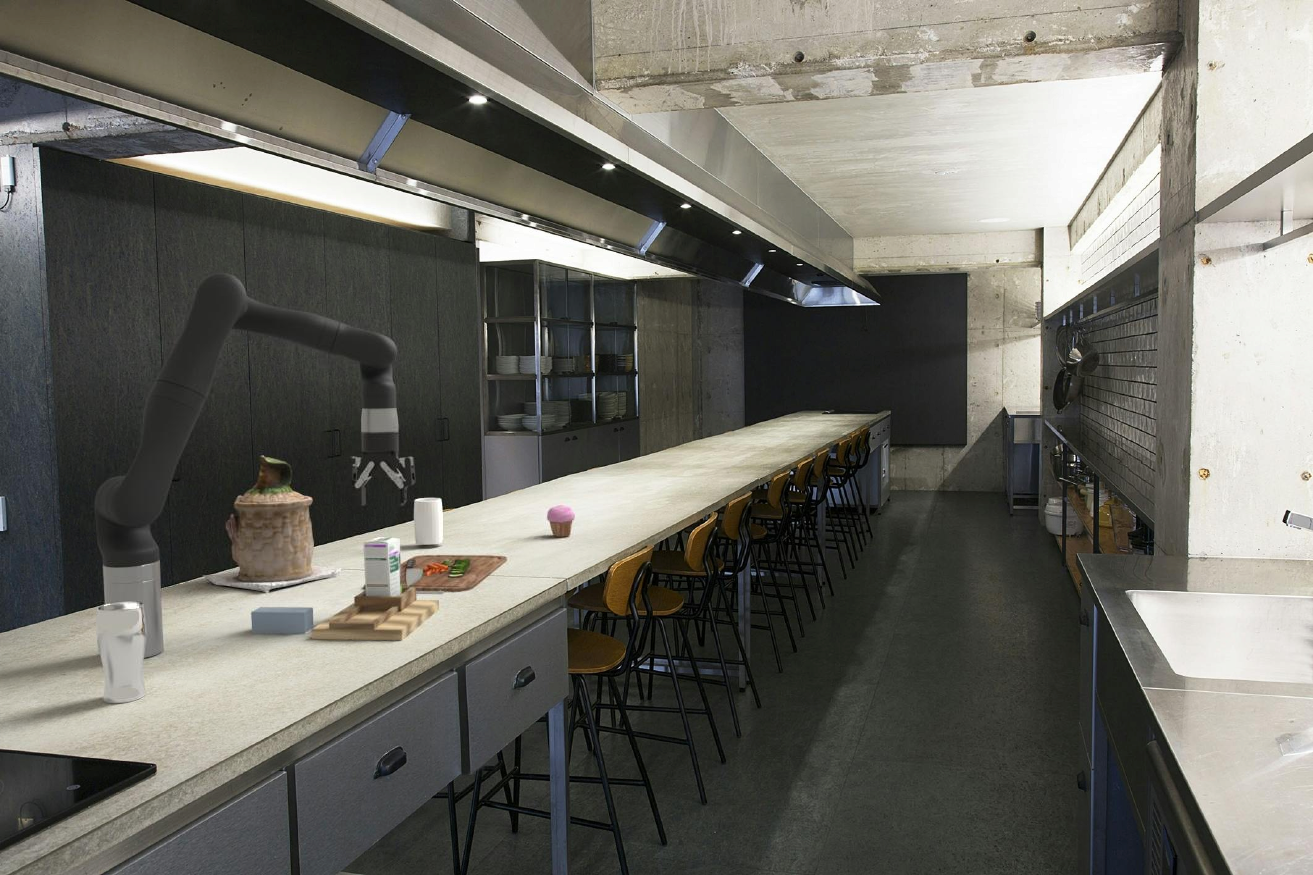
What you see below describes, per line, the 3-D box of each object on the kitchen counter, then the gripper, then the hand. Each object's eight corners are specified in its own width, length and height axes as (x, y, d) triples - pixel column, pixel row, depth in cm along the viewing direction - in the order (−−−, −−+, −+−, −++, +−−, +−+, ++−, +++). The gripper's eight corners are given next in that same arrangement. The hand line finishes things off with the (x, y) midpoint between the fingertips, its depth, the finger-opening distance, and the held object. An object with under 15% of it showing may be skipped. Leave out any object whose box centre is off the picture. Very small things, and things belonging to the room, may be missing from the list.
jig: (401, 640, 184) (401, 614, 184) (312, 639, 185) (311, 613, 185) (439, 609, 208) (438, 586, 208) (359, 608, 209) (358, 586, 209)
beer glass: (157, 689, 156) (153, 600, 155) (135, 704, 149) (131, 610, 148) (114, 690, 156) (110, 600, 155) (90, 705, 149) (85, 611, 148)
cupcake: (579, 537, 298) (579, 505, 297) (554, 539, 294) (553, 507, 293) (567, 533, 306) (567, 502, 305) (542, 535, 301) (542, 504, 301)
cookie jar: (345, 575, 245) (341, 452, 243) (264, 595, 224) (259, 460, 221) (281, 566, 257) (277, 449, 255) (199, 584, 236) (193, 456, 234)
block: (313, 628, 194) (312, 607, 193) (305, 634, 190) (304, 612, 189) (261, 628, 194) (260, 607, 194) (252, 633, 190) (251, 611, 190)
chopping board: (465, 596, 222) (465, 583, 222) (355, 595, 225) (355, 582, 224) (511, 558, 267) (511, 548, 267) (419, 558, 269) (419, 547, 269)
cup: (449, 545, 286) (448, 498, 285) (429, 549, 279) (427, 502, 278) (429, 542, 290) (428, 496, 289) (408, 547, 283) (407, 500, 282)
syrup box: (390, 609, 200) (389, 541, 199) (365, 608, 201) (362, 540, 200) (402, 602, 206) (401, 536, 205) (377, 601, 207) (375, 536, 206)
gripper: (340, 430, 198) (342, 507, 199) (406, 430, 196) (408, 508, 197) (354, 428, 205) (356, 502, 206) (418, 428, 204) (420, 503, 205)
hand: (381, 505), depth 202 cm, fingers open, 8 cm apart
